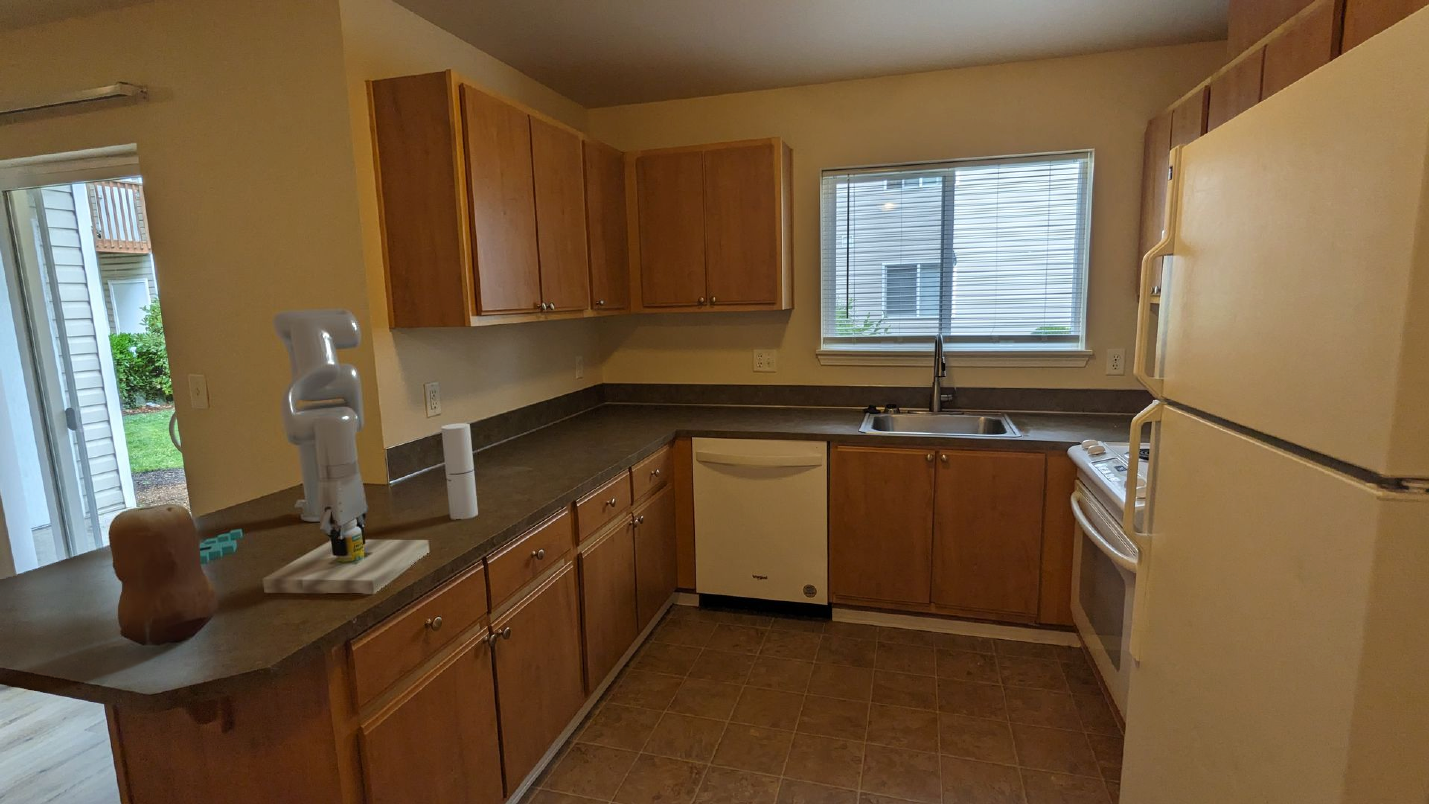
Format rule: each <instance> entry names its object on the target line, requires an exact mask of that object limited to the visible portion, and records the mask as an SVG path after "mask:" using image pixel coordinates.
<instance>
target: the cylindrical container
mask: <svg viewBox="0 0 1429 804" xmlns="http://www.w3.org/2000/svg"><path fill="white" fill-rule="evenodd" d="M440 428H441V429H440V430H441V437H442V438H441V439H442V446H443V447H442V448H443V457H444V466H445V467H444V468H445V476H446V488H447V498H448V507H449V517H450V519H451V520H456V519H461V520H467V519H471V518H474V517H477V516H478V514H479V512H478V511H479V509H478V499H477V489H476V488H477V487H476V478H475V465H474V456H473V448H472V447H473V446H472V433H471V425H470V424H469V423H464V422H463V423H461V422H459V423H452V424H451V423H450V424H446V425H442V426H441V427H440Z"/></svg>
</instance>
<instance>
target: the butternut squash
mask: <svg viewBox="0 0 1429 804" xmlns="http://www.w3.org/2000/svg"><path fill="white" fill-rule="evenodd" d="M195 525H196V524H195V522H194V519H193V517H192V514H191V512H190V511H189V510H188V509H187V508H186V507H185V506H182V505H180V504H177V503H164V504H158V505H154V506H153V505H151V506H147V507H146V506H145V507H134V508H130V509H127V510H123V511H121V512H120V513H119V514H117V515H115V517H114V518H113V519H112V521H111V522H110V525H109V528H108V541H109V547H110V550H111V556H112V568H113V570H114V572H115V576H116V578H117V579H118V581H120V582H121V593H120V596H119V601H118V604H117V620H118V621H117V622H118V625H119V626H118V627H119V628H120V630H119V633H120V636H121V637H123V638H125V639H127V640H129V641H132V642H135V644H138V645H140V646H162V645H163V646H164V645H165V644H166V645H167V644H176V643H177V642H179V643H183V642H184V641H186V640H188V639H190V638H193V637H194V636H196V634H198V633H199V632H200V631H201V630H202V629H203V628H205V626H206V625H207V624H208V623H209V622H210V621H211V619H213V618H214V616H215V615H216V613H217V610H218V609H219V602H218V593H217V590H216V589H215V586H214V584H212V582H211V581H210V579H209V578H208V576H207V575H206V574H205V573H204V570H203V567H202V564H201V562H200V556H201V555H200V543H201V542H200V539H199V534H198V531H197V529H196V526H195ZM182 641H183V642H182Z"/></svg>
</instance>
